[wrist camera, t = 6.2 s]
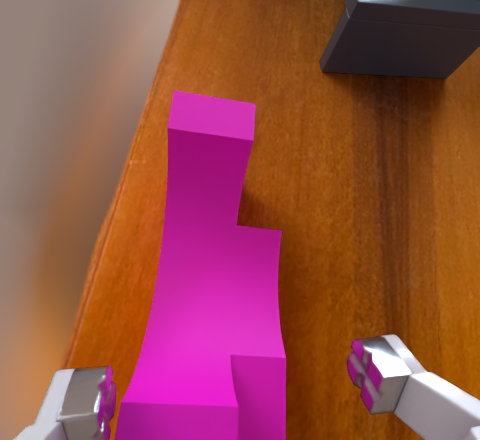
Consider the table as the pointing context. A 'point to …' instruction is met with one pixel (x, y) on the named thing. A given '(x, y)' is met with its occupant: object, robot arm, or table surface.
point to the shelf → (403, 37)
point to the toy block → (210, 294)
